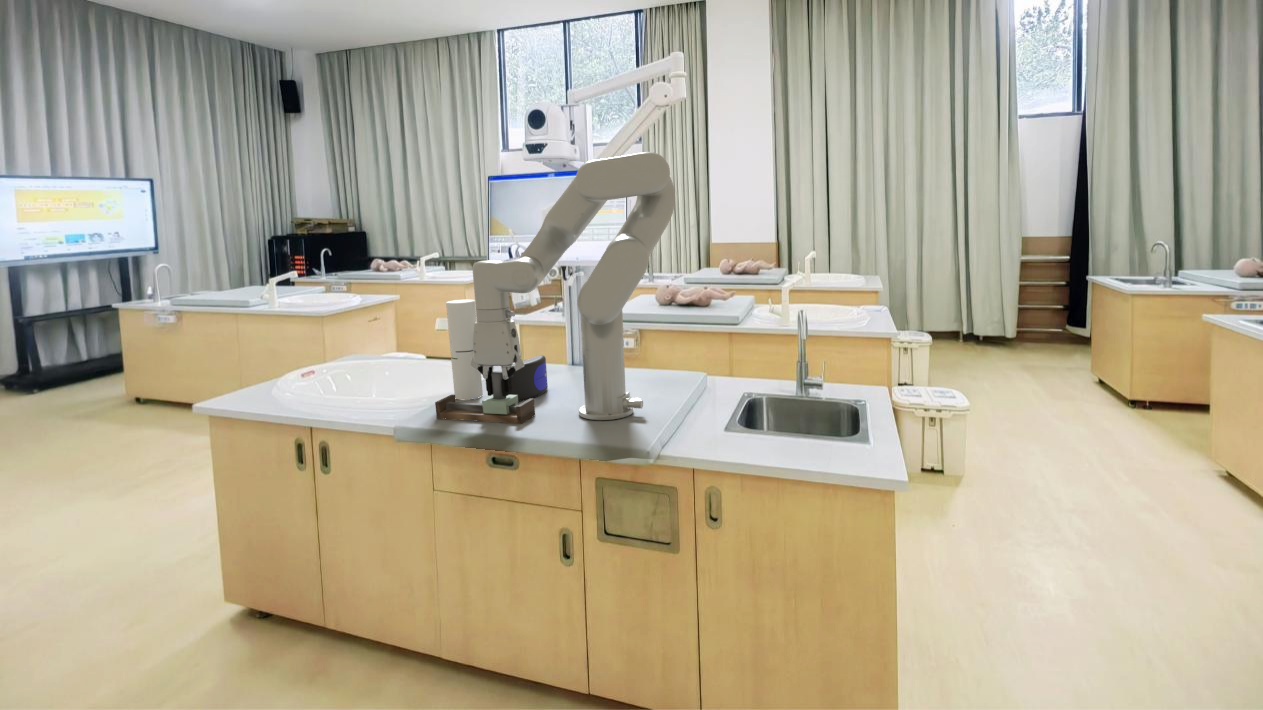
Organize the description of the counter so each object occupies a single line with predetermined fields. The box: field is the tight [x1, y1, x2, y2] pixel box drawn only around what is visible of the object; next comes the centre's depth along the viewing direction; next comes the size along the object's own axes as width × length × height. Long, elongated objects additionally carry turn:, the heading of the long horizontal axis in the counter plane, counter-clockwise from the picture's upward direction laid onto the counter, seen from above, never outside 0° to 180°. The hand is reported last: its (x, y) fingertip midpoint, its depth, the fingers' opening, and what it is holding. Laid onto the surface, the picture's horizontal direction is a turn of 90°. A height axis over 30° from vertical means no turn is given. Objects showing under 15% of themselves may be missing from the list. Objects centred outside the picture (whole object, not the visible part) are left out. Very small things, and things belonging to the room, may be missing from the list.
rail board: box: [434, 394, 536, 425], centre depth 170 cm, size 22×7×4 cm, turn 72°
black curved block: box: [509, 354, 548, 402], centre depth 187 cm, size 16×5×9 cm, turn 151°
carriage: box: [481, 370, 519, 414], centre depth 167 cm, size 6×6×9 cm
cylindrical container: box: [445, 299, 484, 399], centre depth 187 cm, size 7×7×25 cm
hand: (499, 393), depth 168 cm, fingers closed on carriage, 3 cm apart
